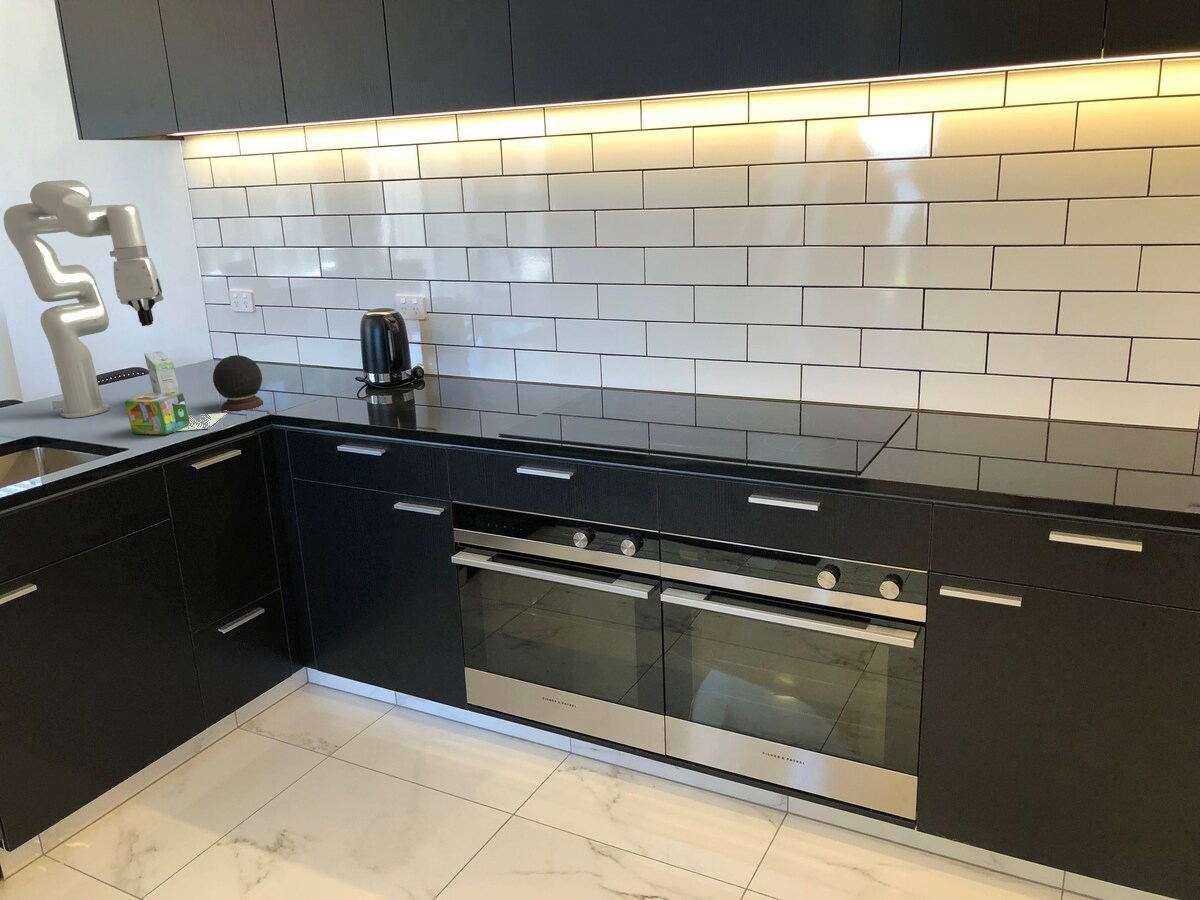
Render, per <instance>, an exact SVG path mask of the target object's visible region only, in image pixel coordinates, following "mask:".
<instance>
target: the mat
mask: <svg viewBox="0 0 1200 900" xmlns="http://www.w3.org/2000/svg"><path fill="white" fill-rule="evenodd" d="M207 414H208V415H209V416H210V417H211V418H210V417H209V416H208V415H207ZM226 414H227V415H228V412H219V413H217V412H216V413H206V415H207V416H208V417H209V418H210V419H211V420H210V419H208V418H206V417H205V416H204V417H205V418H206V419H208V420H209V421H208V420H207V421H208V422H207V421H205V422H207V423H208V426H209V425H210V426H212V425H213V424H214V423H216V422H217V421H218V420H219V419H220V418H222V417H223V416H224V415H226ZM227 415H226V416H227ZM190 416H191V415H189V417H190ZM202 417H203V416H202ZM224 417H225V416H224ZM224 417H223V418H224ZM190 418H191V417H190ZM192 418H193V417H192ZM192 418H191V419H192ZM223 418H222V419H223ZM191 419H189V421H190V420H191ZM193 419H194V418H193ZM193 419H192V420H193ZM206 419H205V420H206ZM192 420H191V421H192ZM194 420H195V419H194ZM194 420H193V421H194ZM200 420H201V419H200ZM191 421H190V423H192V422H193V421H192V422H191ZM201 421H202V420H201ZM201 421H200V422H201ZM203 421H204V420H203ZM195 422H196V420H195ZM197 422H198V421H197ZM197 422H196V423H197ZM200 422H198V423H200ZM205 422H204V423H205ZM209 422H210V423H209ZM218 422H219V421H218ZM218 422H217V423H218ZM196 423H195V424H194V425H193V423H192V424H191V426H192V425H193V427H191V426H189V425H190V424H189V425H188V426H187V428H186V427H184V428H181V429H178V430H176V431H183V430H194V429H196V428H197V429H204V428H202V427H203V424H202V426H201V423H200V425H199V426H198V424H197V425H196ZM207 423H206V424H207ZM217 423H216V424H217ZM197 426H198V427H197ZM200 426H201V427H200ZM208 426H206V428H207V427H208ZM188 427H189V429H188ZM194 427H195V428H194ZM204 427H205V425H204ZM212 427H213V426H212Z"/></svg>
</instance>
